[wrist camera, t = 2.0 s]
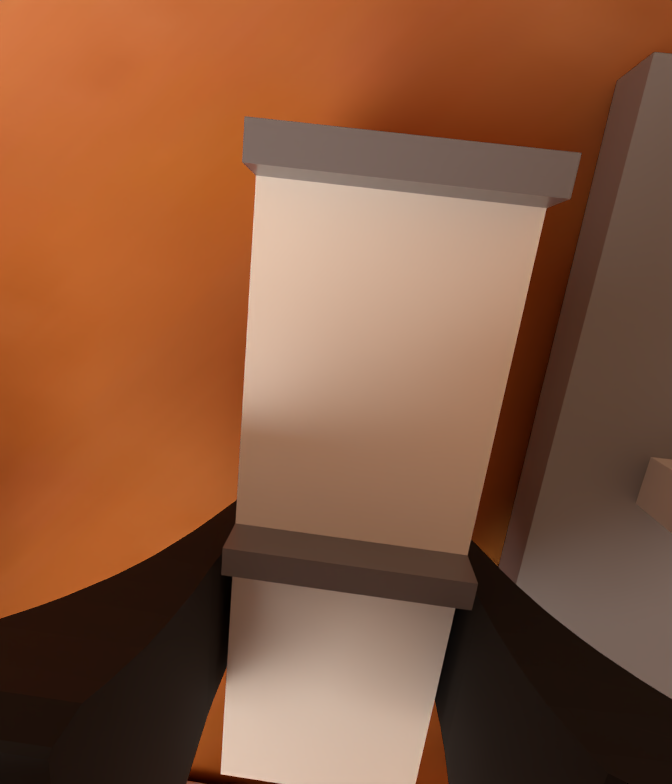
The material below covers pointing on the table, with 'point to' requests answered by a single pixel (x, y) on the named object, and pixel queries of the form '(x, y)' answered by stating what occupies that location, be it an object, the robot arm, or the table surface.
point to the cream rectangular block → (367, 432)
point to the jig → (610, 405)
